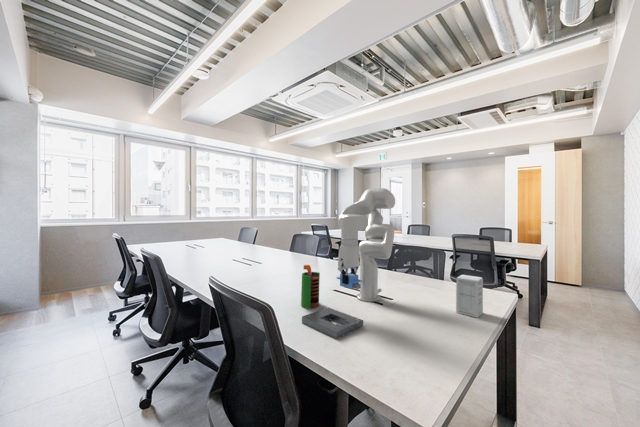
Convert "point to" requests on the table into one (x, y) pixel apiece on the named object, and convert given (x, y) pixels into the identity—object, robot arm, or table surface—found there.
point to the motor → (310, 288)
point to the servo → (351, 281)
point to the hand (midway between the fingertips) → (349, 282)
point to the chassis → (334, 330)
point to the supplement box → (469, 295)
